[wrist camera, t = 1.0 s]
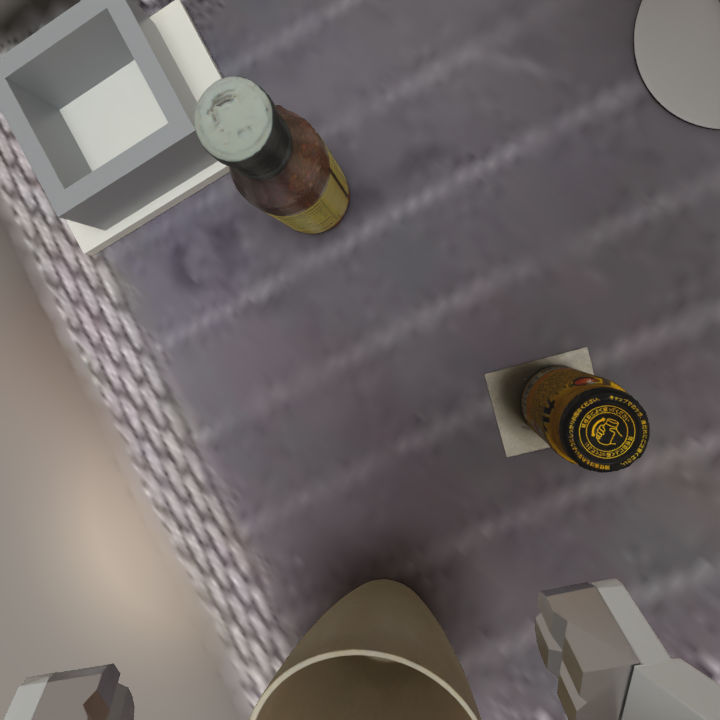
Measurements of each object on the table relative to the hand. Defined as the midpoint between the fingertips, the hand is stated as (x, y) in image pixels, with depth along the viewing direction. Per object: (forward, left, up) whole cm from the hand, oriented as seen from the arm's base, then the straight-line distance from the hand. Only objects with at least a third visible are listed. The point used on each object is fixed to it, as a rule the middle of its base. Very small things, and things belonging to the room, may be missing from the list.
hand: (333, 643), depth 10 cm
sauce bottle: (-1, -18, -36) cm, 40 cm away
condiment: (-10, +6, -36) cm, 37 cm away
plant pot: (+11, +17, -36) cm, 41 cm away
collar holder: (+10, -31, -35) cm, 48 cm away
